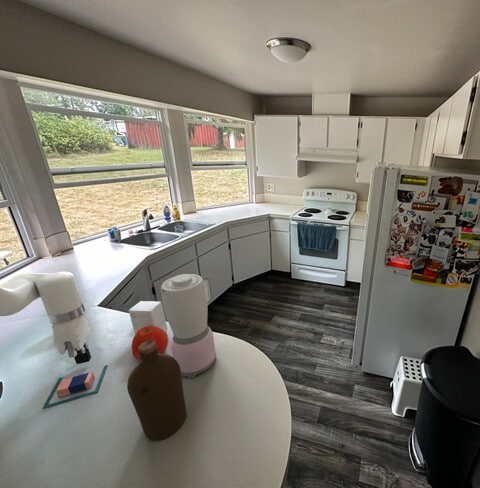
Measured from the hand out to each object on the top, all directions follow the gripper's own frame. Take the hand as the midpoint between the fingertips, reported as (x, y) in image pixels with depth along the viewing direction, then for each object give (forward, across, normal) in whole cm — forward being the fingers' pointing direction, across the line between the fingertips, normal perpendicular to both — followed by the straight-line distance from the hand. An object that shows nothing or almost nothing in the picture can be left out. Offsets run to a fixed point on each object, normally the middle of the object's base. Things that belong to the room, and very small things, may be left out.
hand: (84, 361), depth 80 cm
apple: (+2, +3, +18) cm, 19 cm away
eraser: (+2, +9, +1) cm, 9 cm away
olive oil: (+2, +32, +24) cm, 40 cm away
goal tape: (+2, +8, 0) cm, 8 cm away
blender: (+2, +13, +33) cm, 35 cm away
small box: (+2, -8, +17) cm, 19 cm away
